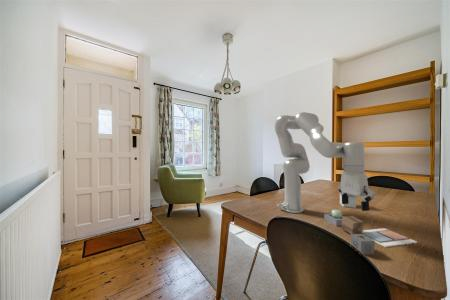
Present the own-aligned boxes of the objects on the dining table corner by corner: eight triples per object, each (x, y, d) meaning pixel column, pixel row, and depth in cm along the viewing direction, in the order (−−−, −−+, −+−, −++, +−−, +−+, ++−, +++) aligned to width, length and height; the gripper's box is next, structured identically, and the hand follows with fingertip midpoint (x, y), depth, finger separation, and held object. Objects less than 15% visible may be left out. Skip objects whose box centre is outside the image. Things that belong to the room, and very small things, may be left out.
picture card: (385, 247, 67) (385, 245, 67) (356, 232, 78) (356, 230, 78) (417, 243, 70) (417, 241, 70) (384, 229, 81) (384, 227, 81)
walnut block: (351, 234, 75) (353, 223, 74) (341, 227, 80) (342, 216, 80) (362, 233, 76) (363, 222, 76) (350, 226, 82) (352, 215, 81)
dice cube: (362, 246, 67) (363, 234, 67) (374, 254, 62) (374, 241, 62) (350, 247, 67) (350, 234, 67) (361, 254, 62) (361, 241, 62)
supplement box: (343, 206, 113) (343, 187, 113) (339, 203, 120) (339, 185, 120) (356, 208, 111) (356, 188, 111) (351, 204, 118) (351, 186, 118)
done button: (336, 220, 87) (336, 212, 87) (329, 216, 91) (329, 209, 91) (343, 219, 88) (343, 212, 87) (336, 216, 92) (336, 209, 92)
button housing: (336, 226, 85) (336, 220, 85) (324, 219, 92) (324, 214, 92) (349, 224, 86) (350, 219, 86) (336, 218, 94) (336, 213, 94)
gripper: (331, 167, 85) (332, 202, 85) (366, 171, 68) (366, 214, 68) (344, 167, 87) (344, 201, 87) (381, 170, 70) (382, 213, 70)
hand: (354, 207), depth 77 cm, fingers open, 9 cm apart
